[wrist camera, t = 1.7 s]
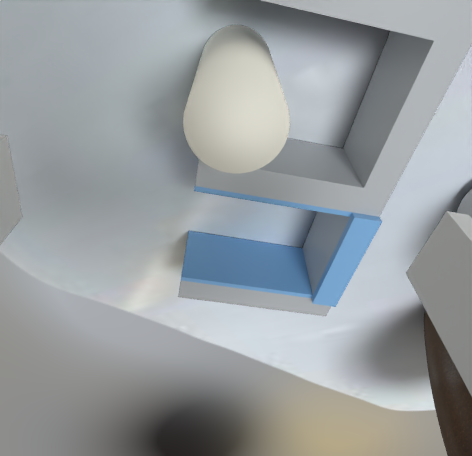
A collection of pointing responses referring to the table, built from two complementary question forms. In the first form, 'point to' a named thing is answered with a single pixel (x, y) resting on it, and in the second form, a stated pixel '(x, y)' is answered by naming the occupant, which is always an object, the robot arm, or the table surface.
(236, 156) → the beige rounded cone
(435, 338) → the plant pot
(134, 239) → the table surface
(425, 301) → the robot arm
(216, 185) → the folding screen
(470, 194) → the can
